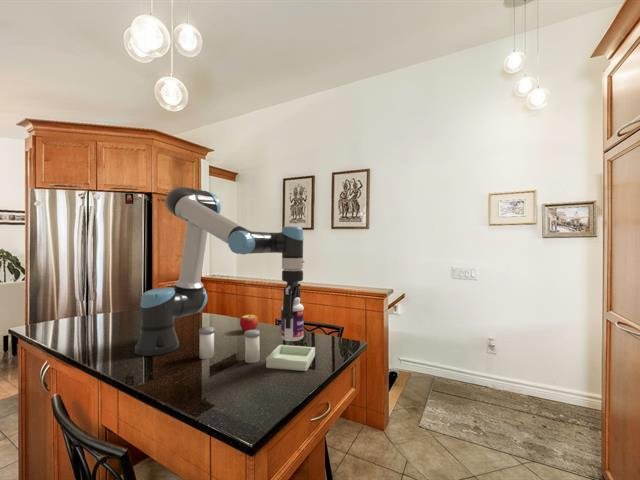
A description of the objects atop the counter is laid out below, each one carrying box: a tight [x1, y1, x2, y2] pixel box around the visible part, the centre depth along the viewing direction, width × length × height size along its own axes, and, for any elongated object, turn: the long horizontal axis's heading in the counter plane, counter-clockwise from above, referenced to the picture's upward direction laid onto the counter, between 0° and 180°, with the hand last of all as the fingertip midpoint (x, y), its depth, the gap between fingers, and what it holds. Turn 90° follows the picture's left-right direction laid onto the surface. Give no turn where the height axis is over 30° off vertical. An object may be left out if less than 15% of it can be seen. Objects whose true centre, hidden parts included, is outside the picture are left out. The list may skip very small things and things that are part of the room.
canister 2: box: [243, 329, 261, 364], centre depth 110 cm, size 5×5×10 cm
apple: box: [239, 309, 259, 332], centre depth 145 cm, size 8×8×10 cm
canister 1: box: [198, 326, 216, 360], centre depth 113 cm, size 5×5×10 cm
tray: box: [265, 344, 316, 372], centre depth 109 cm, size 14×14×3 cm
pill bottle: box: [280, 297, 305, 342], centre depth 109 cm, size 8×8×14 cm
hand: (292, 333), depth 109 cm, fingers closed on pill bottle, 8 cm apart
